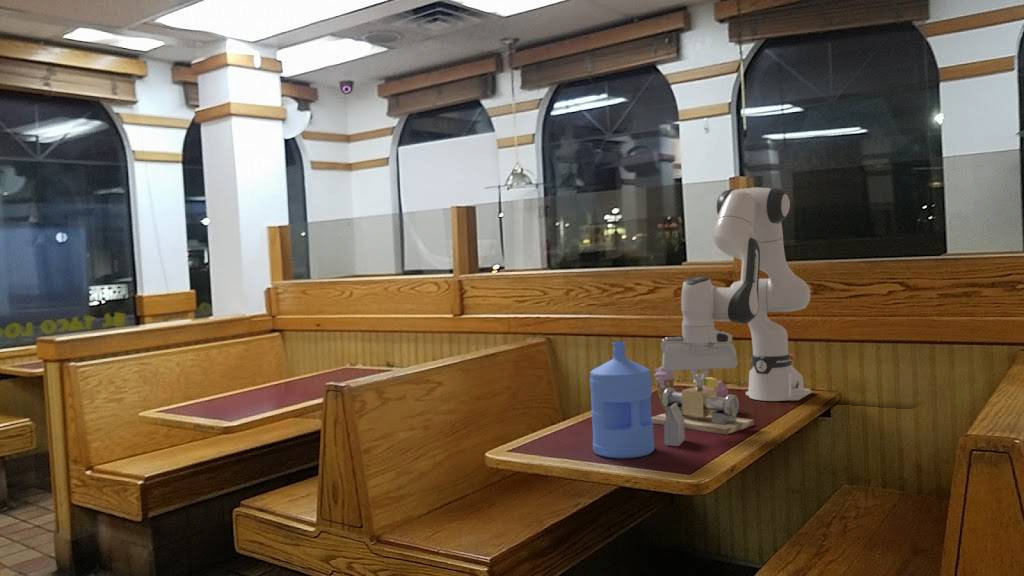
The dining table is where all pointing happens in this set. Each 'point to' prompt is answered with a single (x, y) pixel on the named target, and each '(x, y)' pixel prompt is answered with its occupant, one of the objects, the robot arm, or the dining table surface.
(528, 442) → the dining table surface
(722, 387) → the cupcake
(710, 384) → the lever
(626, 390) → the water jug
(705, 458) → the dining table surface
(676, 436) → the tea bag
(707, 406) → the valve assembly
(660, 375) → the ice cream cone
